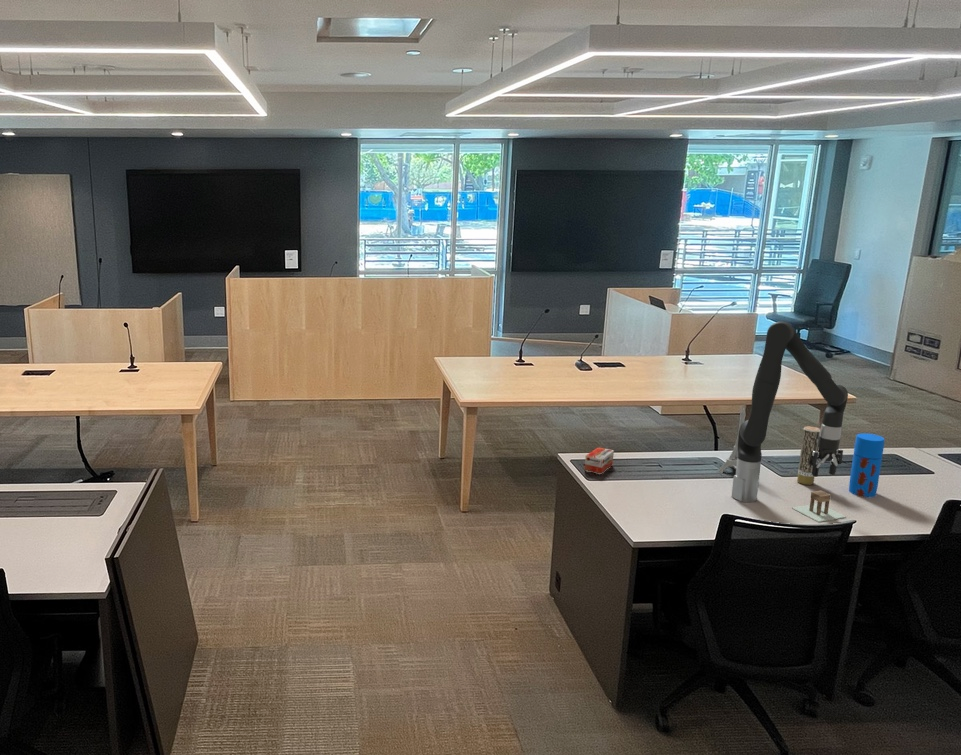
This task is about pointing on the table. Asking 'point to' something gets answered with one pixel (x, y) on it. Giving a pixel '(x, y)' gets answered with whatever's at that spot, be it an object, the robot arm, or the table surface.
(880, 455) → the thermos
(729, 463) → the eiffel tower
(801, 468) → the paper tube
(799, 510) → the pad
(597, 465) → the medicine box
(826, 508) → the stool
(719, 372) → the table surface
